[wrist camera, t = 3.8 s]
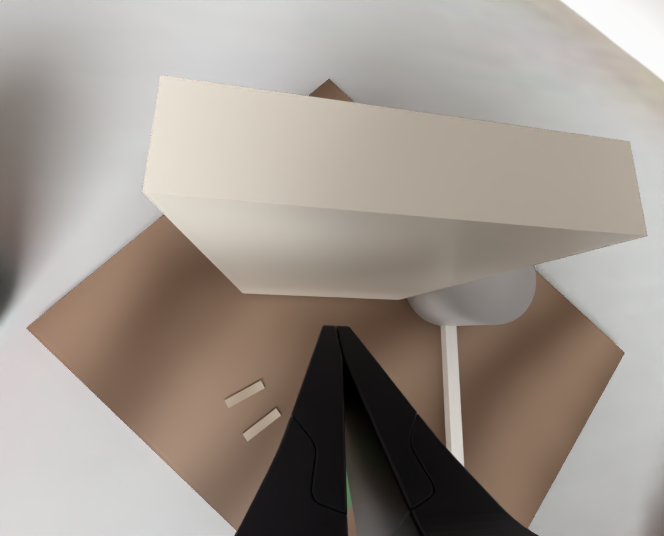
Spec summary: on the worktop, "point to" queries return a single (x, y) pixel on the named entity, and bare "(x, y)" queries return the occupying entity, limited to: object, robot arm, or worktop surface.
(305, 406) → the robot arm
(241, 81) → the worktop surface
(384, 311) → the dial board
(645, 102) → the worktop surface
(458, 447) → the white panel with rod
